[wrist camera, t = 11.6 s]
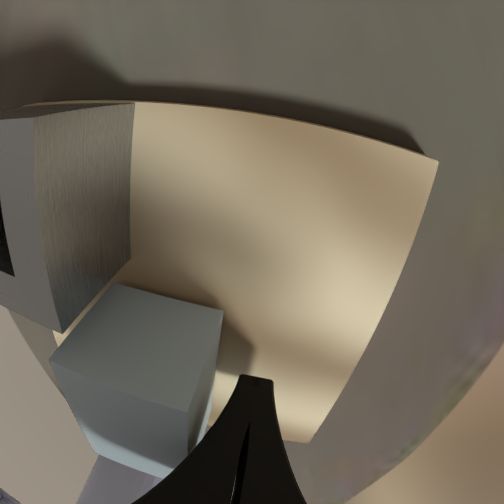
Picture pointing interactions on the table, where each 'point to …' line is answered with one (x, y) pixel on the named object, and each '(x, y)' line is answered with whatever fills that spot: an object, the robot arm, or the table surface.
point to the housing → (141, 376)
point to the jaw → (63, 206)
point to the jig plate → (271, 241)
